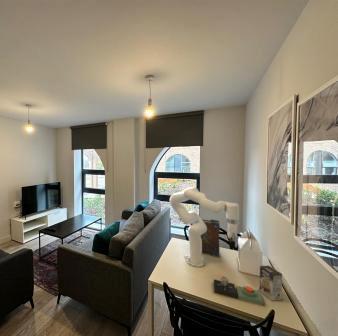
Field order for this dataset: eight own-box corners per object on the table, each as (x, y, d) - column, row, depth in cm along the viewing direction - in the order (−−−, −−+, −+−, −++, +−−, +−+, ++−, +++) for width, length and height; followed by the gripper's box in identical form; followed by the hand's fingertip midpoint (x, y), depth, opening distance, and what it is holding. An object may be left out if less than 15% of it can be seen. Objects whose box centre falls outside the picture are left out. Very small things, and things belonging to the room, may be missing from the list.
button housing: (238, 299, 113) (238, 292, 113) (236, 288, 122) (236, 282, 122) (263, 305, 108) (263, 298, 107) (258, 294, 117) (259, 287, 116)
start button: (245, 292, 114) (245, 289, 113) (244, 288, 117) (244, 285, 117) (253, 294, 112) (253, 291, 112) (252, 289, 115) (252, 287, 115)
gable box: (238, 257, 159) (238, 225, 157) (257, 262, 152) (258, 228, 151) (239, 271, 140) (240, 234, 138) (262, 277, 133) (262, 238, 132)
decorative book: (219, 253, 167) (219, 220, 165) (219, 257, 160) (219, 222, 159) (190, 248, 178) (190, 217, 176) (190, 251, 172) (190, 219, 170)
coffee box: (258, 290, 120) (259, 265, 119) (268, 289, 121) (268, 265, 120) (272, 300, 111) (272, 274, 110) (282, 299, 112) (282, 273, 111)
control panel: (214, 293, 118) (214, 288, 118) (213, 283, 127) (213, 278, 127) (236, 298, 113) (236, 293, 113) (234, 288, 122) (234, 283, 122)
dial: (229, 287, 118) (229, 279, 118) (223, 288, 118) (223, 280, 118) (225, 283, 122) (225, 275, 122) (219, 284, 122) (219, 276, 122)
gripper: (225, 217, 138) (224, 241, 139) (227, 223, 125) (227, 250, 126) (237, 218, 135) (236, 243, 136) (240, 225, 122) (240, 252, 123)
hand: (232, 246), depth 131 cm, fingers closed
